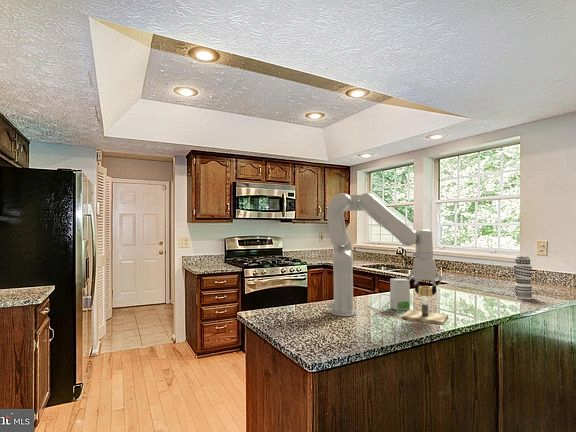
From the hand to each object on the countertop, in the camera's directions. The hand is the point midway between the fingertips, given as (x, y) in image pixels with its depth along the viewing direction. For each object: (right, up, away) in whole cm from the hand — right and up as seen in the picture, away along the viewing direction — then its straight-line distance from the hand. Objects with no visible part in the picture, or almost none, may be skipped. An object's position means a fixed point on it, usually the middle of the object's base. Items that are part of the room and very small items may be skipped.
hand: (425, 293), depth 163 cm
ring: (0, -1, 0) cm, 1 cm away
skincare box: (-6, -12, +18) cm, 23 cm away
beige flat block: (0, -12, 0) cm, 12 cm away
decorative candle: (+76, -13, +44) cm, 89 cm away
